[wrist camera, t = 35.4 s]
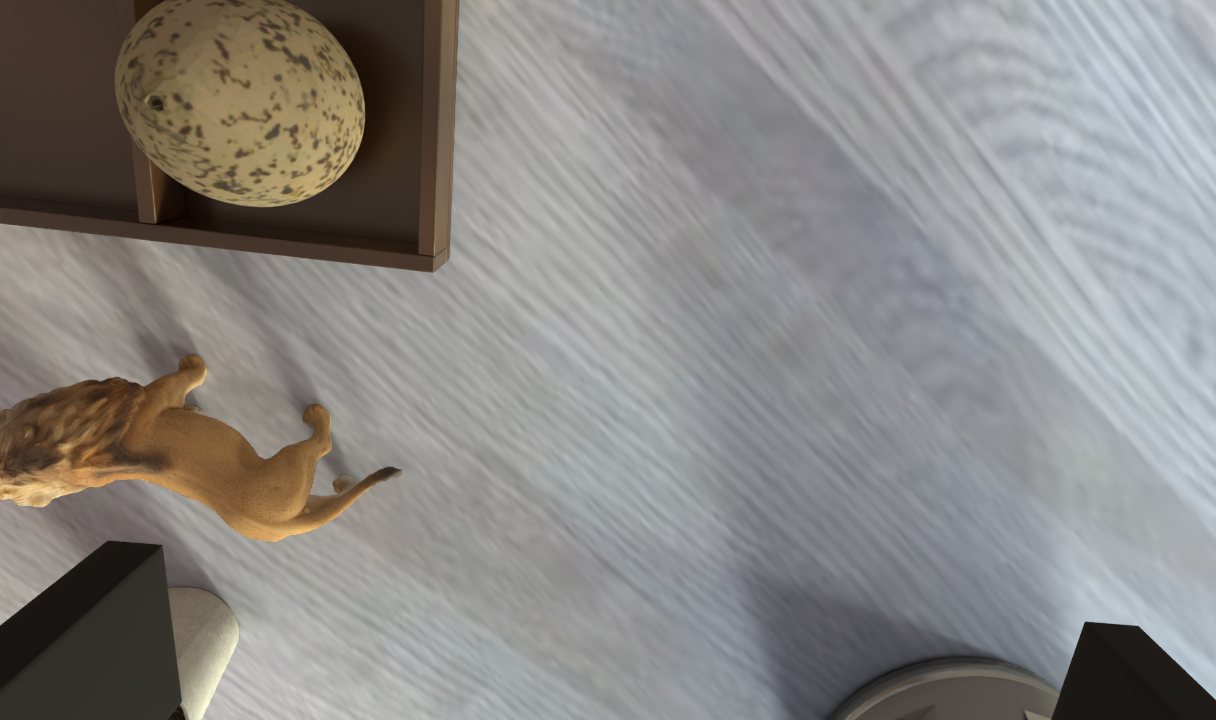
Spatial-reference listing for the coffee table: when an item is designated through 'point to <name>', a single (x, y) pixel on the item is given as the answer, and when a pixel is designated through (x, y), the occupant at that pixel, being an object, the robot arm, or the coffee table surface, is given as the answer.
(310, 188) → the decorative egg
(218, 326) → the coffee table surface
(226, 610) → the house plant
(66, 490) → the lion figurine
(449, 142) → the sorting tray
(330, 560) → the coffee table surface
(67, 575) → the robot arm
